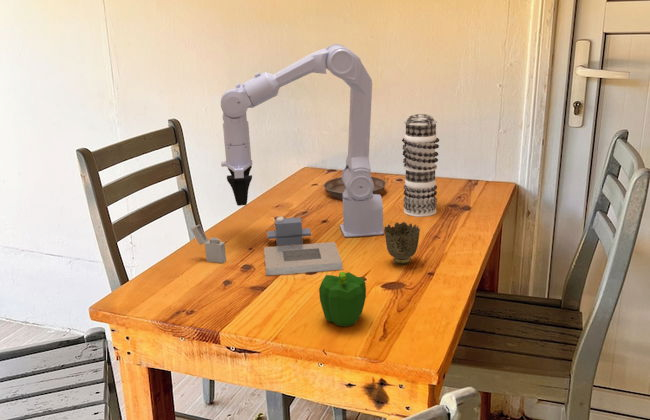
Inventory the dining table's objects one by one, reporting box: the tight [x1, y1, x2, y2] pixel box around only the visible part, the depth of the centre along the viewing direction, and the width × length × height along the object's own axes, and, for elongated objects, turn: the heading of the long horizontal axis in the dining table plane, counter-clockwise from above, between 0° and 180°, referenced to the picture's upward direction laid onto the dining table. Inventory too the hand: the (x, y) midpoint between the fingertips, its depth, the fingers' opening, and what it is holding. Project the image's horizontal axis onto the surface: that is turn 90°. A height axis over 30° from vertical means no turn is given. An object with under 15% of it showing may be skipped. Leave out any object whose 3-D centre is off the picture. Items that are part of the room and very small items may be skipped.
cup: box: [383, 221, 421, 266], centre depth 144 cm, size 8×7×8 cm
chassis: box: [263, 241, 343, 277], centre depth 147 cm, size 16×12×2 cm
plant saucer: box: [323, 176, 387, 201], centre depth 193 cm, size 18×18×3 cm
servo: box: [266, 216, 312, 246], centre depth 158 cm, size 10×4×6 cm, turn 96°
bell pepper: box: [318, 271, 367, 327], centre depth 120 cm, size 8×8×10 cm
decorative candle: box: [401, 113, 440, 218], centre depth 172 cm, size 9×9×25 cm
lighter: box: [191, 223, 227, 264], centre depth 149 cm, size 7×2×8 cm, turn 70°
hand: (242, 199), depth 158 cm, fingers open, 7 cm apart
